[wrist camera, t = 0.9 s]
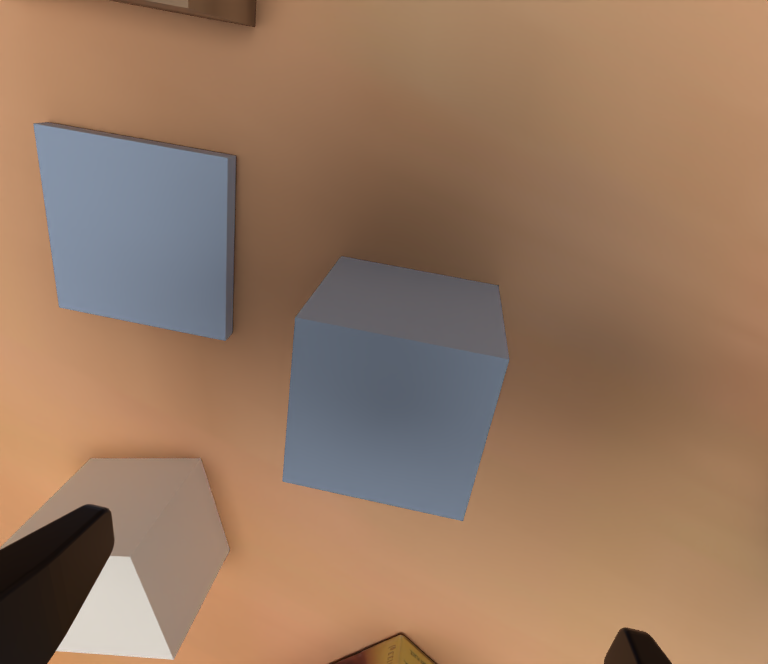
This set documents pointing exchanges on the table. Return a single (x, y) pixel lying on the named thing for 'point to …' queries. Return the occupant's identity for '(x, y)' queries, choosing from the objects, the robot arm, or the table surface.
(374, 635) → the table surface
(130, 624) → the cream cube
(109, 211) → the tile
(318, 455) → the blue cube
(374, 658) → the candy box
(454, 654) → the table surface
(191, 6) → the walnut block
